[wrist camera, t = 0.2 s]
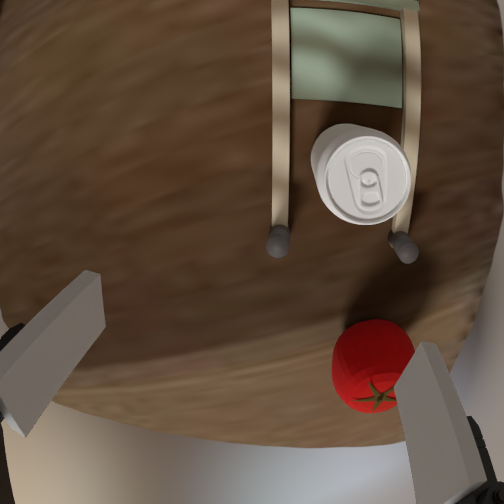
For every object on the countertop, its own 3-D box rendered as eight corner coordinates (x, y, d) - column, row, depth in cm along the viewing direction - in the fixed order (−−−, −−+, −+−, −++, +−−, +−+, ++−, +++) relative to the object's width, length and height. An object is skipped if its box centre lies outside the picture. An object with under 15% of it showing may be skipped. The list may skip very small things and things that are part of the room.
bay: (269, -10, 26) (264, -26, 22) (415, 6, 24) (431, -6, 20) (269, 239, 39) (266, 257, 35) (404, 245, 37) (416, 263, 33)
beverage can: (375, 119, 32) (411, 124, 21) (383, 188, 35) (419, 223, 24) (304, 128, 33) (309, 136, 22) (316, 197, 36) (325, 236, 26)
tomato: (352, 292, 41) (368, 357, 30) (419, 317, 41) (447, 379, 30) (313, 356, 46) (313, 422, 35) (376, 374, 47) (388, 436, 35)
